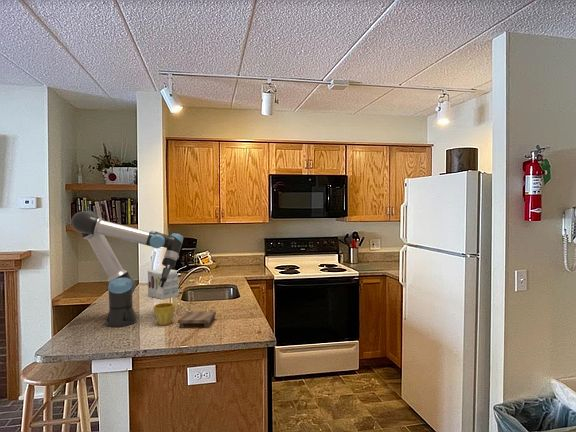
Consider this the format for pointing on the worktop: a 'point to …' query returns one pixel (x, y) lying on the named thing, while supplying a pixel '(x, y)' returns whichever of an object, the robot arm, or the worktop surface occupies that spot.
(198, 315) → the walnut stand
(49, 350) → the worktop surface
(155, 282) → the supplement box
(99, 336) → the worktop surface
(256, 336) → the worktop surface
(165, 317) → the plant pot
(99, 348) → the worktop surface
